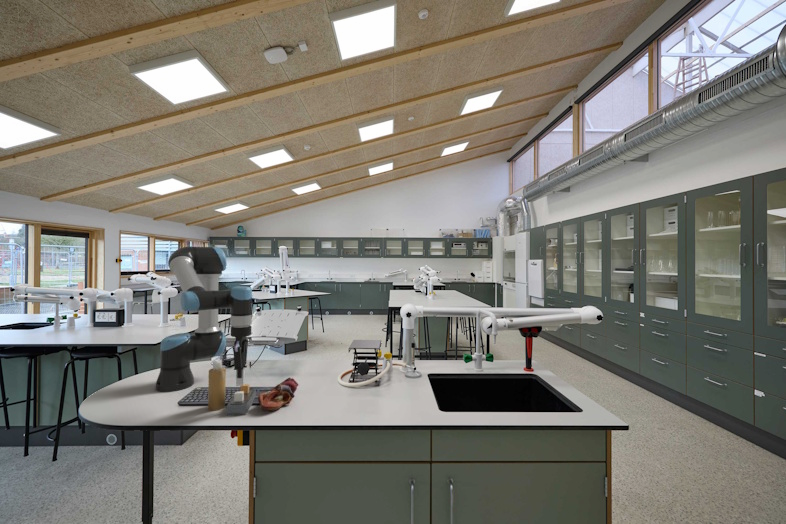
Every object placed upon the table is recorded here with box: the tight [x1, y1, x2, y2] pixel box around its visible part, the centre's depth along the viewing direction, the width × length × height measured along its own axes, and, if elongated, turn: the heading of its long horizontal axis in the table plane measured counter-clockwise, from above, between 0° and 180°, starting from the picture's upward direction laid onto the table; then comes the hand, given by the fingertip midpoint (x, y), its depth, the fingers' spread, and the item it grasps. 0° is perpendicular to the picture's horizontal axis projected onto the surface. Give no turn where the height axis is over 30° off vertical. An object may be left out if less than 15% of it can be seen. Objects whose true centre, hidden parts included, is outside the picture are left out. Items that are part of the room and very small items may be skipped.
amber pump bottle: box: [207, 360, 227, 412], centre depth 138 cm, size 6×6×18 cm
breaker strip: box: [225, 387, 257, 417], centre depth 143 cm, size 22×7×4 cm, turn 9°
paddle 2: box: [239, 383, 250, 394], centre depth 144 cm, size 2×3×3 cm, turn 99°
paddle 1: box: [233, 390, 244, 402], centre depth 136 cm, size 2×3×3 cm, turn 99°
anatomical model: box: [257, 377, 299, 411], centre depth 141 cm, size 11×13×15 cm
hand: (240, 385), depth 137 cm, fingers closed
